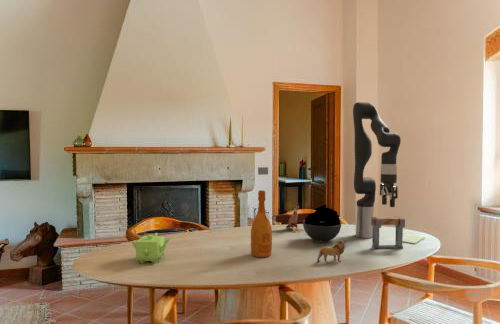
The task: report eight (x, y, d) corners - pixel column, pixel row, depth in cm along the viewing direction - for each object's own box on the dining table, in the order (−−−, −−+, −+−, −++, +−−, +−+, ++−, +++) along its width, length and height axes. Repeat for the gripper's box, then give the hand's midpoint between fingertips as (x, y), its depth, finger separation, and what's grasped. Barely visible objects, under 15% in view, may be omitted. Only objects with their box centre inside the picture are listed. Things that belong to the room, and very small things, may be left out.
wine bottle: (257, 259, 165) (257, 192, 164) (246, 253, 174) (247, 189, 172) (275, 256, 169) (276, 191, 168) (265, 251, 178) (265, 188, 177)
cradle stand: (375, 250, 181) (376, 219, 180) (370, 246, 187) (370, 217, 187) (404, 249, 182) (405, 219, 182) (398, 246, 189) (399, 216, 188)
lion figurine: (339, 258, 168) (340, 238, 168) (347, 261, 163) (348, 241, 163) (313, 262, 161) (313, 241, 161) (320, 265, 157) (321, 244, 156)
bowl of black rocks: (325, 248, 183) (325, 210, 182) (294, 240, 198) (295, 205, 197) (348, 242, 196) (349, 206, 195) (318, 235, 211) (318, 202, 210)
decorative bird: (280, 230, 206) (276, 204, 211) (268, 236, 222) (264, 211, 227) (324, 227, 216) (319, 202, 221) (309, 232, 232) (305, 209, 237)
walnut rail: (374, 225, 182) (374, 218, 182) (371, 223, 185) (372, 217, 185) (403, 224, 183) (403, 218, 183) (400, 223, 186) (400, 217, 186)
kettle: (157, 253, 173) (157, 229, 172) (174, 260, 163) (174, 235, 162) (126, 260, 162) (126, 234, 162) (143, 268, 152) (143, 241, 152)
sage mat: (415, 244, 192) (415, 243, 192) (399, 241, 197) (399, 240, 197) (424, 238, 205) (424, 237, 205) (409, 235, 210) (409, 234, 210)
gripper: (403, 174, 177) (402, 207, 177) (389, 172, 191) (388, 203, 191) (387, 174, 176) (387, 208, 176) (375, 172, 190) (374, 203, 191)
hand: (388, 205), depth 184 cm, fingers open, 8 cm apart
